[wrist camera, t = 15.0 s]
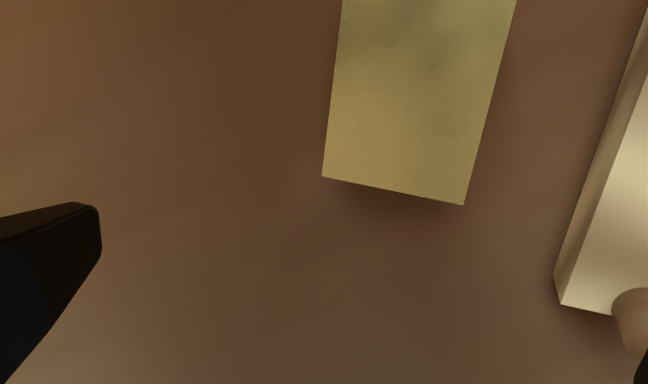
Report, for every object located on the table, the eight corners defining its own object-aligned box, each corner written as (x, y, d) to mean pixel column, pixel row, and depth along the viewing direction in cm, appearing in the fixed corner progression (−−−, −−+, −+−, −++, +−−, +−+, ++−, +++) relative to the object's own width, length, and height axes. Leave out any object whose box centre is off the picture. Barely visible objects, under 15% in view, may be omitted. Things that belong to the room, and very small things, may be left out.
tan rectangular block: (463, 158, 20) (463, 205, 16) (346, 136, 20) (321, 176, 17) (506, -13, 17) (516, -1, 14) (369, -32, 18) (345, -25, 14)
